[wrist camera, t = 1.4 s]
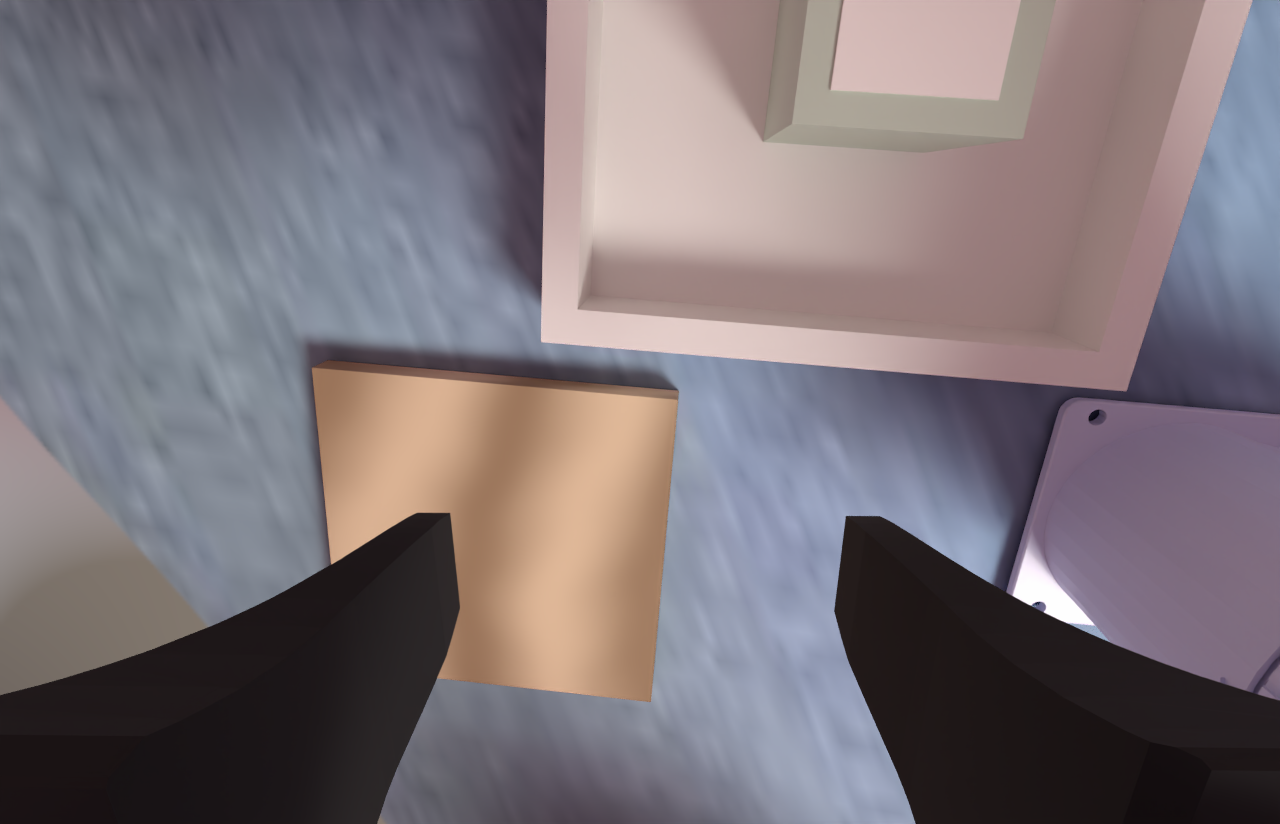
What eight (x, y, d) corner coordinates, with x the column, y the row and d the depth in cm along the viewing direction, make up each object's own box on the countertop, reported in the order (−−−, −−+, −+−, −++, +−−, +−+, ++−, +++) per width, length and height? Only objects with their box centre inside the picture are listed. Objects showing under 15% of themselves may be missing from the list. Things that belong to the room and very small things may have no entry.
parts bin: (1258, -300, 15) (1384, -409, 13) (1067, 363, 21) (1126, 391, 18) (579, -322, 16) (555, -428, 13) (561, 321, 22) (541, 342, 19)
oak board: (678, 390, 22) (677, 400, 21) (652, 683, 26) (650, 701, 25) (327, 360, 23) (311, 367, 22) (354, 650, 27) (341, 667, 26)
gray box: (959, -33, 17) (1091, -142, 11) (923, 152, 19) (1024, 138, 13) (784, -43, 17) (828, -154, 12) (763, 142, 19) (792, 123, 13)
